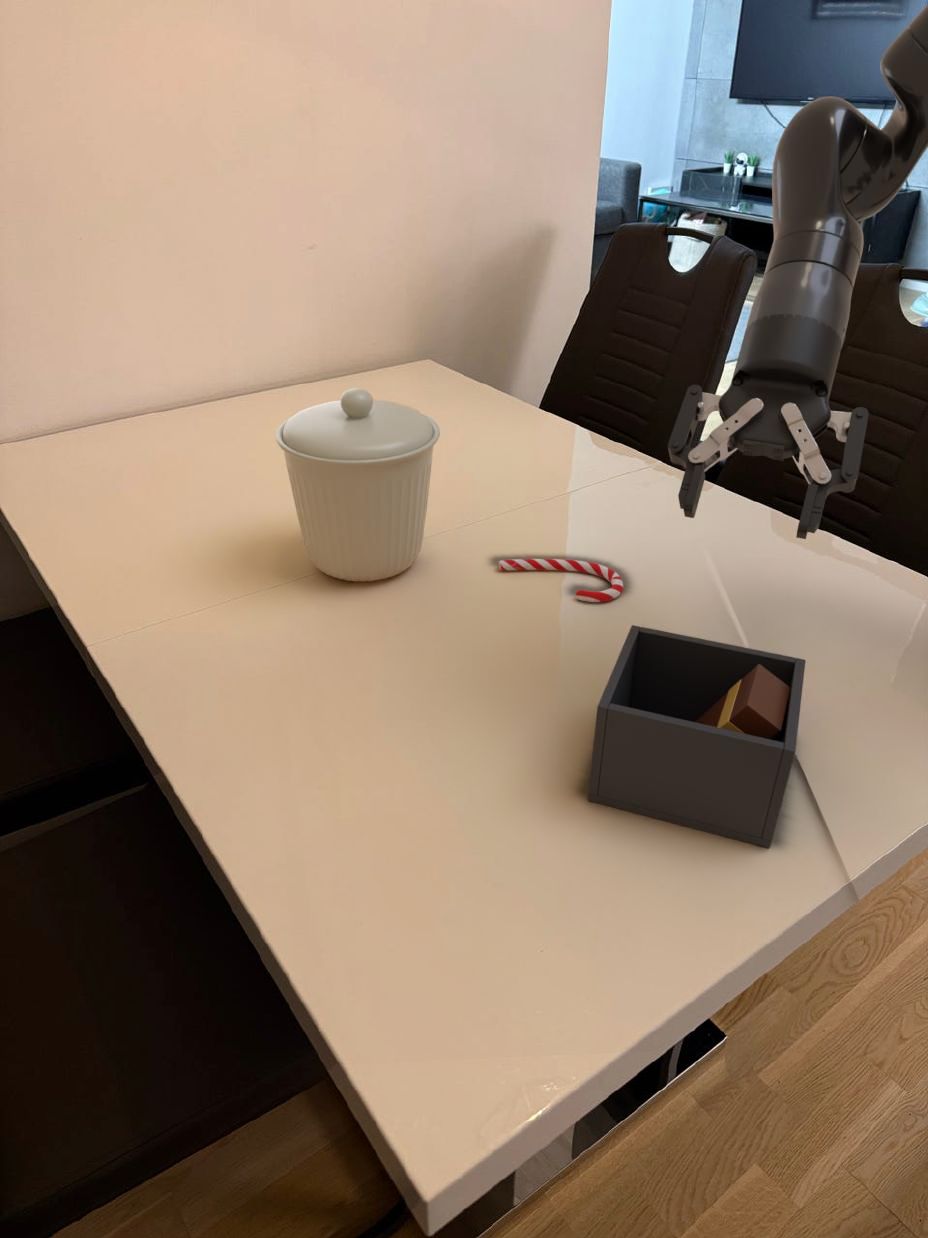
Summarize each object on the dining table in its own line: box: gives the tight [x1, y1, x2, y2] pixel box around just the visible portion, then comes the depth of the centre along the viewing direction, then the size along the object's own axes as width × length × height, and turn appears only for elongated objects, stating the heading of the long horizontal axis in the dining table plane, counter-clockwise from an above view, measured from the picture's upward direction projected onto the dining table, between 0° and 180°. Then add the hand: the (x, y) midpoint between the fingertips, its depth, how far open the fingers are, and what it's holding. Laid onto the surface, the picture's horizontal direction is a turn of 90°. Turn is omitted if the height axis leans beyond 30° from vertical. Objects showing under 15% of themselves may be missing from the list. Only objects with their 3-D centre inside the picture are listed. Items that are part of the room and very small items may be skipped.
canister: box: [275, 387, 441, 582], centre depth 105 cm, size 18×18×21 cm
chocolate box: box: [695, 664, 790, 739], centre depth 74 cm, size 3×6×10 cm, turn 156°
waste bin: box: [586, 624, 806, 849], centre depth 76 cm, size 15×13×10 cm
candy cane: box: [497, 558, 624, 603], centre depth 106 cm, size 8×1×15 cm
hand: (744, 524), depth 70 cm, fingers open, 8 cm apart
